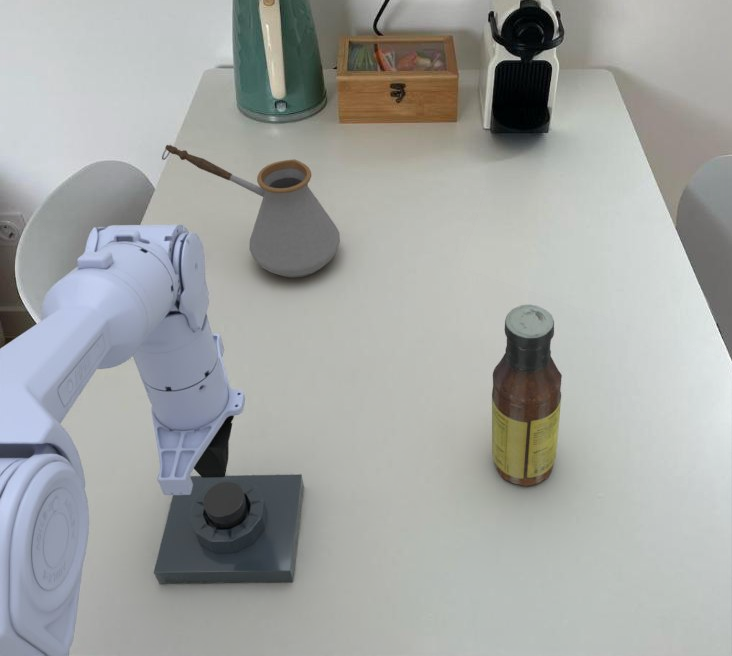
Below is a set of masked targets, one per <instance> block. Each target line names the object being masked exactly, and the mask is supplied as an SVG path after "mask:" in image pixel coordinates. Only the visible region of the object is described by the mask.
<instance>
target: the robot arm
mask: <svg viewBox="0 0 732 656" xmlns="http://www.w3.org/2000/svg"><path fill="white" fill-rule="evenodd" d="M76 259H77V260H76V263H77V266H76V267H75V268H74V269H72V270H71V271H70V272H68V273H67V274H66V275H64V276H63V277H62V278H60V279H59V280H58V281H56V282H55V283H54V284H53V285H52V287H50V288H49V289H48V291H47V292H46V294H45V296H44V298H43V300H42V304H41V307H40V308H41V309H40V310H41V311H40V321H39V322H37V323H36V324H34V325H33V326H32V327H30V328H29V329H27V330H26V331H24V332H23V333H20V335H18V336H17V337H15V338H13V339H12V340H11V341H10V342H8V343H6V344H4V346H2V347H1V348H0V656H70V649H71V647H72V645H73V642H74V638H75V632H76V623H77V615H78V608H79V599H80V592H81V585H82V584H81V582H82V575H83V568H84V562H85V557H86V553H87V547H88V541H89V533H90V512H89V501H88V496H87V492H86V478H85V473H84V468H83V464H82V459H81V457H80V454H79V451H78V449H77V446H76V444H75V443H74V440H73V439H72V437H71V435H70V434H69V432H68V431H67V430H66V429H65V427H63V425H62V424H61V423H62V422H63V421H64V419H65V418H66V417H67V414H68V413H69V411H70V410H71V409H72V407H73V405H74V404H75V403H76V401H77V400H78V398H79V396H81V394H82V392H83V391H84V389H85V388H86V386H87V384H89V382H90V380H91V379H92V377H93V375H94V374H95V373H96V371H97V370H106V369H113V368H115V367H118V366H120V365H122V364H124V363H126V362H127V361H129V360H131V358H133V361H134V364H135V365H136V369H137V372H138V373H139V376H140V379H141V383H142V385H143V387H144V389H145V392H146V395H147V397H148V400H149V402H150V405H151V408H150V409H151V415H152V416H151V417H152V418H151V419H152V423H153V430H154V436H155V441H156V442H155V443H156V447H157V453H158V459H159V470H158V476H157V482H158V485H159V487H160V489H161V491H162V494H163V495H164V496H173V495H190V494H191V491H192V487H193V483H192V480H191V476H192V475H191V474H192V472H193V470H194V471H195V472H196V473H197V474H198V476H201V477H202V478H213V477H225V476H226V475H227V474H226V473H227V469H228V463H229V456H230V455H229V450H230V449H229V447H230V444H229V443H230V442H229V441H230V437H231V433H232V427H233V420H234V419H235V416H240V415H241V414H242V413H243V411H244V409H245V408H244V407H245V404H246V403H245V402H246V395H245V392H244V391H243V390H242V389H232V388H231V387H230V383H229V379H228V375H227V372H226V367H225V364H224V359H223V356H224V352H225V346H224V343H223V339H222V336H221V334H220V333H213V332H212V328H211V324H210V321H209V317H208V314H207V312H208V308H209V305H210V298H209V294H210V293H209V289H208V285H207V279H206V259H205V249H204V244H203V240H202V238H201V239H200V237H199V235H198V234H197V233H196V232H194V231H191V232H190V231H189V230H188V229H187V227H186V226H184V224H124V225H123V224H114V225H113V224H111V225H108V226H98V227H96V226H94V227H93V228H92V229H91V231H90V232H89V235H88V237H87V239H86V244H85V248H84V252H83V254H81V255H80V256H79V257H78V258H76Z"/></svg>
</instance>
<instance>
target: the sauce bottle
mask: <svg viewBox="0 0 732 656" xmlns="http://www.w3.org/2000/svg"><path fill="white" fill-rule="evenodd" d="M504 335H505V337H506V347H505V353H504V354H503V356H502V358H501V359H500V361H499V362H498V364H497V365H496V366H495V367H494V369H493V372H492V391H491V457H492V459H493V460H492V461H493V463H494V466H495V469H496V471H497V472H498V474H499V475H500V476H501V477H502V478H503V480H505V481H507V482H510V483H512V484H516V485H520V486H523V487H524V486H526V487H529V486H534V485H537V484H539V483H541V482H543V481H545V480H546V479H547V478H549V476H550V475H551V474H552V471H553V468H554V465H555V461H556V459H557V450H558V440H559V439H558V437H559V429H560V419H561V418H560V417H561V405H562V392H561V390H562V389H561V388H562V378H563V376H562V375H563V374H562V373H561V372H560V371H559V369H558V366H557V365H556V363H555V361H554V359H553V358H552V351H551V343H552V339H553V338H554V337H555V336H554V335H555V320H554V317H553V315H552V313H550V312H549V311H548V310H547V309H545V308H543V307H541V306H538V305H534V304H522V305H519V306H516V307H514V308H512V309H511V310H510V311H509V312H508V313H507V314H506V315H505V320H504Z"/></svg>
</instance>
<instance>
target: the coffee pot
mask: <svg viewBox="0 0 732 656" xmlns="http://www.w3.org/2000/svg"><path fill="white" fill-rule="evenodd" d="M166 152H167V154H166ZM165 154H166V155H165ZM170 154H171V155H176V156H178V157H179V159H180V160H181V161H187V162H189V163H191V164H192V165H193V166H195V167H197V168H198V169H200V170H203V171H205V172H207V173H209V174H212V175H215V176H217V177H218V178H219V177H220V178H222V179H224V180H226V181H230V182H232V183H235V184H236V185H238V186H240V187H242V188H245V189H246V190H249V191H250V192H252V193H254V194H256V195H258V196H260V197H262V200H261V203H260V207H259V210H258V213H257V216H256V219H255V222H254V224H253V225H254V226H253V229H252V232H251V236H250V238H249V252H250V255H251V256H252V258H253V260H254V261H255V262H256V263H257V264H258V265H259V266H260V267H261V268H262V269H264V270H266V271H268V272H269V273H271V274H275V275H278V276H281V277H284V278H291V279H292V278H293V279H294V278H304V277H307V276H310V275H313V274H315V273H316V272H318V271H320V270H321V269H322V268H324V266H326V265H327V264H329V262H331V260H332V259H333V258H334V256H335V255H336V253H337V252H338V249H339V246H340V243H341V235H340V231H339V229H338V228H337V225H336V224H335V222H334V221H333V220H332V218H331V217H330V215H329V214H328V212H327V211H326V210H325V208H324V207H323V205H322V204H321V203H320V201H319V199H317V196H316V195H315V194H314V193H313V191H312V190H311V188H310V187H309V183H310V181H311V179H312V171H311V169H310V168H309V166H307V165H306V164H305V163H304V162H301V161H300V160H297V159H285V160H280V161H279V160H278V161H275V162H272V163H270V164H267V165H266V166H265V167H262V169H261V170H260V171H259V172H258V174H257V177H256V182H257V184H258V185H256V184H255V183H252V182H250V181H247V180H245V179H243V178H240V177H238V176H236V175H234V174H233V173H231V172H229V171H228V170H225V169H223V167H220V166H218V165H216V164H215V163H213V162H211V161H209V160H207V159H205V158H203V157H200V156H196V155H193V154H190V153H189V152H188V151H187V150H186V149H183V150H181V149H178V148H177V147H176V146H173V145H172V144H166V145H165V149H164V151H163V153H162V156H161V160H162V161H165V160H166V159H167V158H169V156H170Z"/></svg>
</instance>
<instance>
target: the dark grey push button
mask: <svg viewBox="0 0 732 656" xmlns="http://www.w3.org/2000/svg"><path fill="white" fill-rule="evenodd" d="M203 505H204V509H205V511H206V514H207V517H208V520H209V522H210V523H211V524H212V525H213V526H215V527H217V528H220V529H229V528H232V527H235V526H237V525H238V524H240V523H241V522H242V521H243V520H244V518H245V517H246V514H247V511H248V506H247V502H246V499H245V495H244V492H243V490H242V488H241V487H240V486H239V485H238V484H236V483H233V482H221V483H218V484H216V485H214V486H212V487H211V488H210V489H209V490H208V491H207V492H206V494H205V496H204V499H203Z"/></svg>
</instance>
